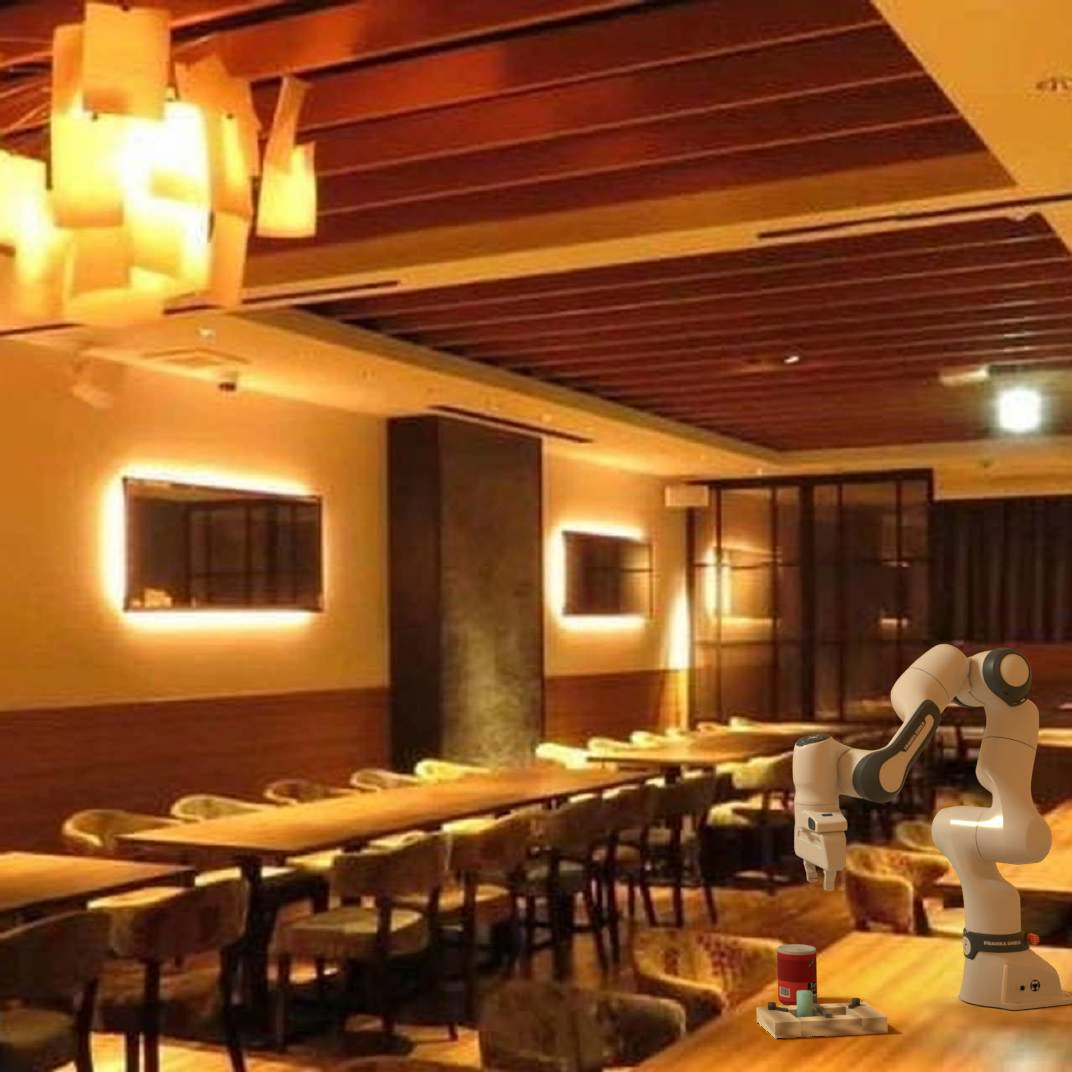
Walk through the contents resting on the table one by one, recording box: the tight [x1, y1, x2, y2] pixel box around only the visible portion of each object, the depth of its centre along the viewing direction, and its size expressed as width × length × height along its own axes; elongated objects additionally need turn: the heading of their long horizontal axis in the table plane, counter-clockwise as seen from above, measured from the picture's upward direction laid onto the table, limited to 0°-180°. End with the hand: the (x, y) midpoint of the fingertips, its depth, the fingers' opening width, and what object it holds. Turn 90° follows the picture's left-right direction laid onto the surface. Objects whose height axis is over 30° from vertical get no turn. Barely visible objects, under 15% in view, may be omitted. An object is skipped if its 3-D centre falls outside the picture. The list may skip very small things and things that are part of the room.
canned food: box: [776, 943, 818, 1006], centre depth 320 cm, size 8×8×11 cm
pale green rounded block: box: [797, 990, 813, 1017], centre depth 299 cm, size 3×3×7 cm
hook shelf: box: [756, 994, 889, 1040], centre depth 299 cm, size 22×12×5 cm, turn 99°
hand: (820, 886), depth 311 cm, fingers open, 8 cm apart
